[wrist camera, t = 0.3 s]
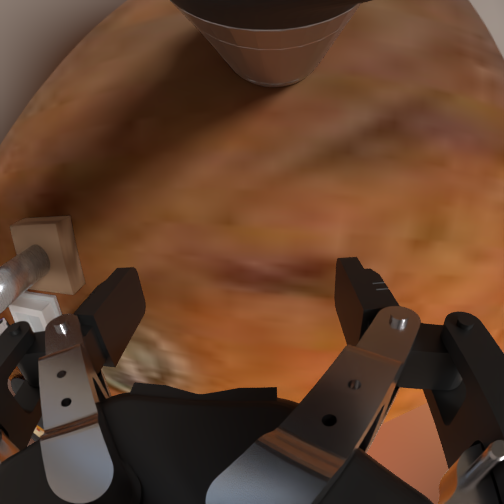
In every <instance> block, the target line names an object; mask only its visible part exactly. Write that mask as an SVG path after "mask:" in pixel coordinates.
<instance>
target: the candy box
mask: <svg viewBox="0 0 504 504" xmlns="http://www.w3.org/2000/svg"><path fill="white" fill-rule="evenodd" d="M7 327H9V324H8V323H7V321H6V320H5V318H2V319H1V320H0V335H1V334H2V333H3V331H4V330H5V329H6V328H7Z"/></svg>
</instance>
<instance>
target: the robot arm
mask: <svg viewBox="0 0 504 504" xmlns="http://www.w3.org/2000/svg"><path fill="white" fill-rule="evenodd" d="M170 1H171V2H172V3H173V4H174V5H175V6H176V7H177V8H178V9H179V10H180V11H181V12H182V13H183V14H184V15H185V16H186V18H187V19H188V20H189V21H190V22H192V24H193V25H194V26H195V27H196V28H197V29H198V30H199V31H200V32H201V33H202V35H203V36H204V37H205V38H206V39H207V40H208V41H209V42H210V44H211V45H212V46H213V47H214V48H215V49H216V50H217V52H218V53H219V54H220V55H221V56H222V58H223V59H224V60H225V61H226V62H227V63H228V64H229V66H230V67H231V68H232V69H233V70H234V72H235V73H237V74H238V75H239V76H240V77H242V78H243V79H245V80H247V81H249V82H251V83H253V84H257V85H260V86H265V87H283V86H288V85H291V84H295V83H297V82H299V81H301V80H303V79H304V78H306V77H307V76H308V75H309V74H311V73H312V72H313V71H314V69H315V68H316V67H317V66H318V64H319V63H320V61H321V60H322V59H323V57H324V56H325V54H326V53H327V51H328V50H329V48H330V47H331V46H332V44H333V43H334V41H335V40H336V38H337V37H338V35H339V34H340V33H341V31H342V30H343V28H344V27H345V26H346V24H347V23H348V21H349V20H350V18H351V17H352V15H353V14H354V12H355V11H356V10H357V8H358V7H359V6H360V4H361V3H363V2H367V1H371V0H170ZM145 307H146V305H145V299H144V295H143V291H142V288H141V284H140V280H139V276H138V273H137V270H136V269H135V268H134V267H130V268H117V269H116V270H115V271H114V272H113V273H112V274H111V275H110V276H109V278H108V279H107V280H106V281H104V282H103V283H101V284H100V285H98V286H97V287H96V288H95V289H94V291H93V292H92V294H90V295H89V296H88V297H87V299H86V300H85V301H84V302H83V303H82V304H81V306H80V307H79V308H78V309H77V310H76V311H75V313H74V314H64V315H61V316H58V317H56V318H54V319H53V320H51V321H50V322H49V323H48V324H47V326H46V328H45V331H40V332H33V331H32V328H31V326H30V324H29V323H28V322H26V321H19V322H16V323H14V324H12V325H10V326H9V327H7V328H6V329H5V330H4V331H3V333H2V334H1V335H0V504H433V503H432V502H431V501H430V500H429V499H428V498H427V497H426V496H425V495H423V494H422V493H420V492H419V491H417V490H416V489H414V488H413V487H412V486H410V485H409V484H407V483H406V482H404V481H403V480H401V479H400V478H399V477H397V476H396V475H395V474H393V473H392V472H391V471H389V470H388V469H386V468H385V467H384V466H382V465H381V464H380V463H378V462H377V461H376V460H374V459H373V458H372V457H371V456H369V455H368V454H367V453H366V452H367V451H368V449H369V447H370V445H371V444H372V442H373V440H374V438H375V436H376V434H377V432H378V430H379V428H380V426H381V424H382V423H383V421H384V419H385V417H386V415H387V413H388V411H389V409H390V407H391V405H392V403H393V401H394V399H395V397H396V395H397V393H398V391H399V389H400V387H403V388H415V389H423V391H424V394H425V397H426V399H427V402H428V405H429V408H430V411H431V413H432V416H433V419H434V422H435V425H436V428H437V431H438V435H439V438H440V441H441V444H442V447H443V451H444V454H445V458H446V461H447V465H448V468H449V470H448V471H447V472H446V473H445V474H444V475H443V477H442V479H441V481H440V484H439V501H438V504H504V353H503V352H502V350H501V349H500V348H499V346H498V345H497V343H496V342H495V340H494V339H493V337H492V336H491V335H490V333H489V332H488V330H487V329H486V328H485V326H484V325H483V324H482V322H481V321H480V320H479V319H478V318H477V317H475V316H473V315H472V314H469V313H466V312H453V313H450V314H448V315H447V316H446V318H445V321H444V325H433V324H424V323H421V320H420V318H419V316H418V315H417V314H416V313H415V312H414V311H412V310H410V309H408V308H405V307H401V306H399V304H398V303H397V301H396V300H395V298H394V296H393V295H392V293H391V292H390V290H389V289H388V287H387V285H386V284H385V283H384V281H383V279H382V278H381V276H380V275H379V274H378V273H376V272H375V271H373V270H372V269H364V268H363V266H362V265H361V263H360V261H359V260H358V258H357V257H349V258H338V259H337V263H336V280H335V307H336V311H337V314H338V317H339V320H340V323H341V327H342V330H343V333H344V336H345V339H346V342H347V346H346V347H345V348H344V349H343V351H342V352H341V353H340V355H339V356H338V357H337V358H336V360H335V361H334V362H333V364H332V365H331V366H330V367H329V369H328V370H327V371H326V372H325V374H324V375H323V376H322V377H321V379H320V380H319V381H318V382H317V383H316V385H315V386H314V387H313V388H312V389H311V391H310V392H309V393H308V394H307V395H306V396H305V398H304V399H303V400H302V401H301V402H300V403H296V402H293V401H290V400H286V399H281V398H277V387H268V388H236V389H231V390H226V391H220V392H214V393H208V394H195V393H191V392H187V391H184V390H180V389H177V388H173V387H170V386H166V385H156V384H145V383H134V385H133V387H132V389H131V392H129V393H123V394H118V395H115V396H112V397H111V394H110V391H109V388H108V385H107V383H106V380H105V377H104V374H103V372H102V370H101V368H102V367H103V366H108V367H116V365H117V363H118V361H119V359H120V358H121V356H122V354H123V352H124V350H125V348H126V346H127V345H128V343H129V341H130V339H131V337H132V335H133V334H134V332H135V330H136V328H137V326H138V325H139V323H140V321H141V319H142V318H143V316H144V313H145ZM16 366H18V368H19V370H20V371H21V373H22V374H23V376H24V378H25V380H24V382H23V383H22V385H21V387H20V388H19V390H18V391H17V393H16V395H15V396H14V397H13V395H12V394H11V392H10V391H9V389H8V385H7V382H8V378H9V376H10V375H11V373H12V372H13V370H14V369H15V367H16ZM41 416H42V417H43V425H44V434H43V435H41V437H40V439H39V440H38V441H36V442H34V443H33V444H31V445H29V446H28V447H27V445H28V443H29V441H30V439H31V436H32V434H33V432H34V430H35V428H36V426H37V424H38V422H39V420H40V418H41Z"/></svg>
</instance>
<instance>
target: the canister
mask: <svg viewBox="0 0 504 504" xmlns="http://www.w3.org/2000/svg"><path fill="white" fill-rule="evenodd" d="M49 270H50V260H49V257H48V255H47V253H46V252H45V250H44V249H43V248H42V247H41V246H39V245H32V246H30V247H29V248H27V249H25V250H24V251H22V252H21V253H19V254H18V255H17V256H15V257H14V258H12V259H11V260H9V261H8V262H6V263H5V264H3V265H2V266H1V267H0V313H1V312H3V311H4V310H5V309H6V308H7V307H8V306H9V305H10V304H11V303H13V302H14V301H15V300H16V299H17V298H18V297H19V296H21V295H22V294H23V293H24V292H25V291H26V290H28V289H29V288H30V287H31V286H32V285H33V284H35V283H36V282H37V281H38V280H40V279H41V278H42V277H43V276H44V275H46V274H47V273H48V272H49Z"/></svg>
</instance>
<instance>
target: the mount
mask: <svg viewBox="0 0 504 504" xmlns="http://www.w3.org/2000/svg"><path fill="white" fill-rule="evenodd" d="M10 230H11V234H12V238H13V242H14V246H15V250H16V254H17V255H18V254H19V253H21V252H22V251H24V250H25V249H27V248H29V247H30V246H32V245H39V246H41V247H42V248H43V249H44V250H45V252H46V253H47V255H48V257H49V260H50V270H49V272H48V273H47V274H46V275H44V276H43V277H42V278H41V279H40V280H38V281H37V282H36V283H35V284H33V285H32V286H31V287H30V288H29V289H32V290H39V291H47V292H54V293H62V294H70V295H74V294H75V293H76V292H77V291H78V290H79V289H80V288H81V287H82V286H83V285H84V284H85V279H84V276H83V272H82V268H81V264H80V260H79V255H78V251H77V246H76V242H75V237H74V232H73V227H72V222H71V216H70V215H69V216H51V217H36V218H24V219H22V220H20V221H18V222H16V223H14V224H12V225H10Z"/></svg>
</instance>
